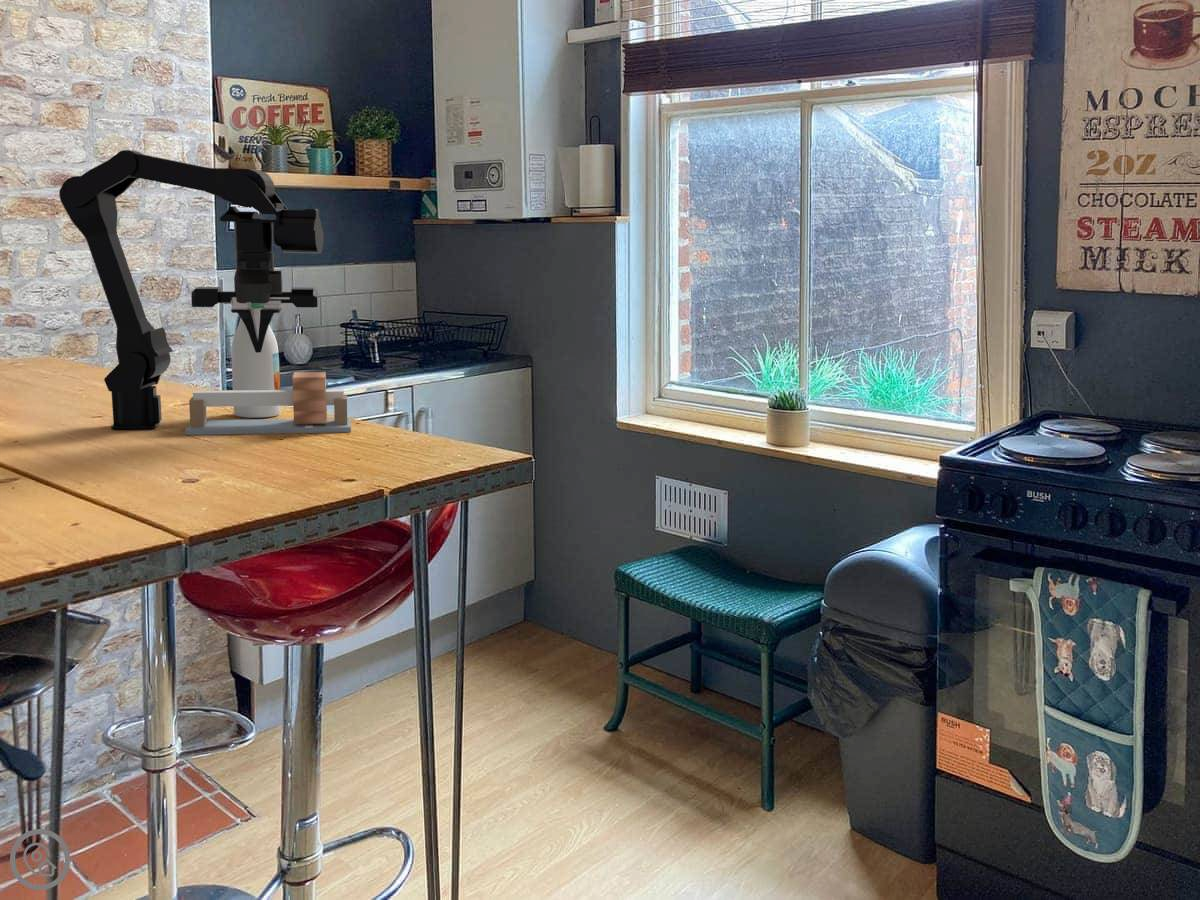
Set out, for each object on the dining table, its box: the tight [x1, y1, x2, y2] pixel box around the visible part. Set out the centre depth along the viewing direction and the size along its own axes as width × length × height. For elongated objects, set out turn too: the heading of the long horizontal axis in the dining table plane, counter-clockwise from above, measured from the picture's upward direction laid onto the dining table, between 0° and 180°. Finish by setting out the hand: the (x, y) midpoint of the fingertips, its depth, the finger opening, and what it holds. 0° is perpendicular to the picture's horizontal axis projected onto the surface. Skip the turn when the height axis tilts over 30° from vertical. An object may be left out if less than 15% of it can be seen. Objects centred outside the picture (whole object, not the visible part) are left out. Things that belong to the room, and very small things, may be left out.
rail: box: [184, 389, 352, 436], centre depth 182 cm, size 25×8×6 cm, turn 102°
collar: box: [291, 371, 328, 424], centre depth 183 cm, size 5×6×7 cm
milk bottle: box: [231, 303, 282, 419], centre depth 193 cm, size 8×8×20 cm
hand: (258, 352), depth 180 cm, fingers closed
